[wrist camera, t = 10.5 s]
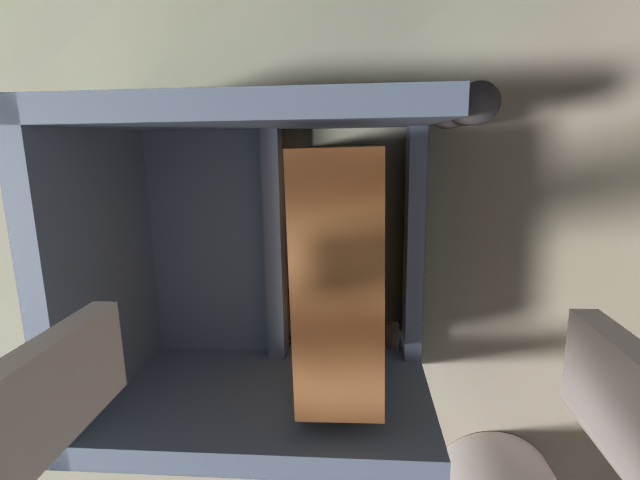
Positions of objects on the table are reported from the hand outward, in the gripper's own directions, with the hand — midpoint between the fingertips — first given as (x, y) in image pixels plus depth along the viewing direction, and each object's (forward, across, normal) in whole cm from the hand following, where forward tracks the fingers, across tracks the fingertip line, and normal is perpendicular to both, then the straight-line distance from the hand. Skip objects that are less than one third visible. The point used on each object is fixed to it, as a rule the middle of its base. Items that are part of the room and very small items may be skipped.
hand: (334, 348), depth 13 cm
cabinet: (+16, -4, 0) cm, 16 cm away
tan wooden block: (+16, 0, 0) cm, 16 cm away
